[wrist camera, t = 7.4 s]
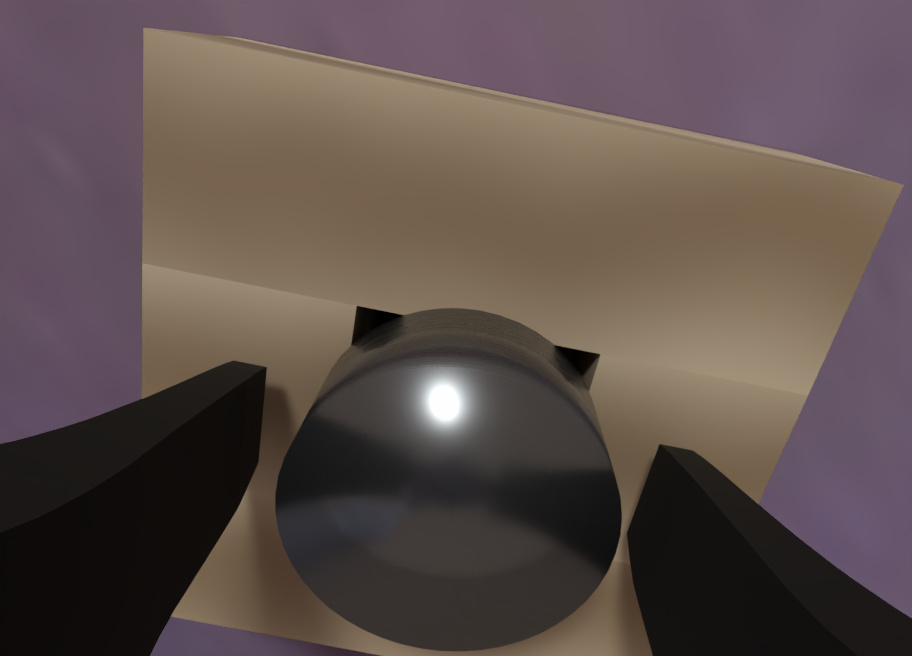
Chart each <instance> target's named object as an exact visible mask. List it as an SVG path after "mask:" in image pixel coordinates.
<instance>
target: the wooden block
mask: <svg viewBox="0 0 912 656" xmlns="http://www.w3.org/2000/svg"><path fill="white" fill-rule="evenodd" d="M903 186H904V185H902V184H899V183H895V182H892V181H888V180H885V179H882V178H878V177H875V176H871V175H868V174H865V173H861V172H858V171H854V170H851V169H848V168H844V167H841V166H837V165H834V164H831V163H827V162H824V161H820V160H817V159H814V158H810V157H807V156H803V155H800V154H797V153H793V152H788V151H783V150H778V149H774V148H769V147H764V146H759V145H754V144H749V143H745V142H740V141H735V140H730V139H725V138H720V137H716V136H711V135H706V134H701V133H696V132H692V131H687V130H682V129H677V128H672V127H667V126H663V125H658V124H653V123H648V122H643V121H638V120H634V119H629V118H624V117H619V116H614V115H609V114H605V113H600V112H595V111H590V110H585V109H581V108H576V107H571V106H566V105H561V104H556V103H552V102H547V101H542V100H537V99H532V98H527V97H523V96H518V95H513V94H508V93H503V92H499V91H494V90H489V89H484V88H479V87H474V86H470V85H465V84H460V83H455V82H450V81H445V80H441V79H436V78H431V77H426V76H421V75H416V74H412V73H407V72H402V71H397V70H392V69H388V68H383V67H378V66H373V65H368V64H363V63H359V62H354V61H349V60H344V59H339V58H334V57H330V56H325V55H320V54H315V53H310V52H305V51H301V50H296V49H291V48H286V47H281V46H277V45H272V44H267V43H262V42H257V41H252V40H248V39H243V38H237V37H227V36H218V35H208V34H199V33H189V32H179V31H170V30H160V29H151V28H144V60H143V253H142V399H143V398H146V397H148V396H151V395H153V394H155V393H157V392H160V391H162V390H164V389H167V388H169V387H171V386H174V385H176V384H178V383H180V382H183V381H185V380H187V379H190V378H192V377H194V376H196V375H199V374H201V373H203V372H205V371H208V370H210V369H212V368H215V367H217V366H219V365H222V364H224V363H227V362H230V361H233V360H234V361H239V362H244V363H249V364H254V365H259V366H264V367H267V372H266V383H265V395H264V406H263V417H262V429H261V440H260V451H259V462H258V465H257V467H256V469H255V472H254V474H253V476H252V479H251V481H250V483H249V485H248V488H247V490H246V492H245V494H244V496H243V498H242V501H241V503H240V505H239V507H238V509H237V511H236V512H235V514H234V516H233V517H232V519H231V521H230V522H229V524H228V525H227V527H226V529H225V530H224V532H223V534H222V535H221V537H220V538H219V540H218V542H217V543H216V545H215V546H214V548H213V550H212V551H211V553H210V554H209V556H208V558H207V559H206V561H205V562H204V564H203V565H202V567H201V569H200V570H199V572H198V573H197V575H196V577H195V578H194V580H193V581H192V583H191V585H190V586H189V588H188V589H187V591H186V593H185V594H184V596H183V597H182V599H181V600H180V602H179V604H178V605H177V607H176V608H175V610H174V612H173V613H172V615H171V617H176V618H182V619H187V620H193V621H198V622H203V623H209V624H214V625H219V626H225V627H230V628H235V629H241V630H246V631H252V632H257V633H262V634H268V635H273V636H278V637H284V638H289V639H295V640H300V641H305V642H311V643H316V644H321V645H327V646H332V647H338V648H343V649H348V650H354V651H359V652H364V653H370V654H375V655H380V656H653V654H652V651H651V647H650V644H649V640H648V637H647V633H646V630H645V626H644V622H643V619H642V615H641V611H640V608H639V604H638V600H637V597H636V593H635V589H634V585H633V579H632V572H631V565H630V558H629V549H628V540H627V531H628V528H629V526H630V523H631V520H632V518H633V515H634V512H635V509H636V507H637V504H638V501H639V498H640V496H641V493H642V490H643V488H644V485H645V482H646V479H647V477H648V474H649V471H650V469H651V466H652V463H653V460H654V458H655V455H656V452H657V449H658V447H659V444H663V445H668V446H673V447H678V448H683V449H688V450H693V451H694V452H696V453H697V454H699V455H700V456H701V457H703V458H704V459H705V460H707V461H708V462H709V463H711V464H712V465H713V466H714V467H715V468H717V469H718V470H719V471H720V472H721V473H723V474H724V475H725V476H726V477H727V478H728V479H730V480H731V481H732V482H733V483H734V484H735V485H737V486H738V487H739V488H740V489H741V490H742V491H743V492H745V493H746V494H747V495H748V496H749V497H750V498H752V499H753V500H754V501H755V502H756V503H757V504H759V502H760V500H761V497H762V495H763V493H764V491H765V489H766V486H767V484H768V482H769V480H770V478H771V476H772V473H773V471H774V469H775V467H776V465H777V462H778V460H779V458H780V456H781V454H782V451H783V449H784V447H785V445H786V443H787V440H788V438H789V436H790V434H791V432H792V429H793V427H794V425H795V423H796V421H797V418H798V416H799V414H800V412H801V410H802V408H803V405H804V403H805V401H806V399H807V397H808V394H809V392H810V390H811V388H812V386H813V383H814V381H815V379H816V377H817V375H818V372H819V370H820V368H821V366H822V364H823V361H824V359H825V357H826V355H827V353H828V350H829V348H830V346H831V344H832V342H833V339H834V337H835V335H836V333H837V331H838V329H839V326H840V324H841V322H842V320H843V318H844V315H845V313H846V311H847V309H848V307H849V304H850V302H851V300H852V298H853V296H854V293H855V291H856V289H857V287H858V285H859V282H860V280H861V278H862V276H863V274H864V271H865V269H866V267H867V265H868V263H869V260H870V258H871V256H872V254H873V252H874V250H875V247H876V245H877V243H878V241H879V239H880V236H881V234H882V232H883V230H884V228H885V225H886V223H887V221H888V219H889V217H890V214H891V212H892V210H893V208H894V206H895V203H896V201H897V199H898V197H899V195H900V192H901V190H902V188H903ZM439 308H463V309H472V310H480V311H485V312H489V313H493V314H497V315H501V316H503V317H506V318H509V319H511V320H514V321H517V322H519V323H521V324H523V325H525V326H527V327H529V328H530V329H532V330H534V331H536V332H538V333H539V334H540V335H542V336H543V337H545V338H546V339H547V340H549V341H550V342H552V343H553V344H554V345H557V348H558V349H559V350H560V351H561V352H562V353H563V354H565V355H566V357H567V358H568V359H569V360H570V361H571V363H572V364H573V365H574V366H575V368H576V369H577V370H578V372H579V374H580V375H581V377H582V379H583V380H584V382H585V384H586V385H587V388H588V390H589V393H590V395H591V397H592V400H593V403H594V406H595V410H596V413H597V416H598V420H599V423H600V427H601V430H602V433H603V437H604V440H605V443H606V447H607V450H608V454H609V457H610V460H611V464H612V467H613V470H614V474H615V477H616V481H617V485H618V489H619V493H620V497H621V510H622V523H621V535H620V539H619V543H618V547H617V551H616V554H615V557H614V559H613V561H612V564H611V566H610V568H609V571H608V572H607V574H606V575H605V577H604V579H603V580H602V582H601V584H600V585H599V587H598V588H597V589H596V590H595V591H594V593H593V594H592V595H591V596H590V597H589V599H588V600H587V601H586V602H585V603H584V604H582V605H581V606H580V607H579V608H578V609H577V610H576V611H575V612H574V613H573V614H571V615H570V616H568V617H567V618H565V619H564V620H563V621H561V622H560V623H558V624H557V625H555V626H553V627H551V628H549V629H548V630H546V631H544V632H542V633H540V634H538V635H535V636H533V637H530V638H528V639H525V640H523V641H520V642H516V643H513V644H509V645H506V646H502V647H497V648H491V649H485V650H476V651H462V652H461V651H437V650H429V649H421V648H416V647H412V646H407V645H403V644H399V643H396V642H393V641H390V640H387V639H384V638H381V637H378V636H376V635H374V634H372V633H369V632H367V631H365V630H363V629H361V628H359V627H357V626H356V625H354V624H352V623H350V622H349V621H347V620H345V619H344V618H342V617H341V616H340V615H338V614H337V613H335V612H334V611H333V610H331V609H330V608H329V607H328V606H327V605H325V604H324V603H323V602H322V601H321V600H320V599H319V598H318V597H317V596H316V595H315V594H314V593H313V592H312V591H311V590H310V589H309V587H308V586H307V585H306V584H305V583H304V582H303V581H302V579H301V578H300V576H299V575H298V573H297V572H296V570H295V569H294V567H293V566H292V564H291V562H290V560H289V558H288V555H287V553H286V551H285V549H284V547H283V544H282V541H281V537H280V534H279V531H278V526H277V519H276V513H275V493H276V487H277V480H278V475H279V472H280V469H281V466H282V463H283V460H284V457H285V455H286V453H287V451H288V449H289V447H290V445H291V443H292V442H293V440H294V438H295V436H296V434H297V432H298V430H299V428H300V426H301V425H302V423H303V421H304V419H305V417H306V415H307V413H308V411H309V410H310V408H311V406H312V404H313V402H314V400H315V398H316V396H317V395H318V393H319V391H320V389H321V387H322V385H323V383H324V381H325V380H326V378H327V376H328V374H329V372H330V370H331V369H332V367H333V366H334V365H335V363H336V362H337V360H338V359H339V358H340V356H341V355H342V354H343V353H344V352H345V351H346V350H347V349H348V348H349V347H350V346H351V345H352V344H353V343H354V342H356V341H357V340H358V339H360V338H361V337H362V336H363V335H365V334H366V333H367V332H369V331H371V330H373V329H374V328H376V327H378V321H379V314H380V310H381V311H386V312H391V313H396V314H401V315H407V314H411V313H415V312H418V311H424V310H432V309H439Z"/></svg>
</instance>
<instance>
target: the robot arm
mask: <svg viewBox="0 0 912 656" xmlns="http://www.w3.org/2000/svg"><path fill="white" fill-rule="evenodd" d="M266 372H267V367H264V366H259V365H254V364H249V363H244V362H239V361H234V360H233V361H230V362H227V363H224V364H222V365H219V366H217V367H215V368H212V369H210V370H208V371H205V372H203V373H201V374H199V375H196V376H194V377H192V378H190V379H187V380H185V381H183V382H180V383H178V384H176V385H174V386H171V387H169V388H167V389H164V390H162V391H160V392H157V393H155V394H153V395H151V396H148V397H146V398H143V399H141V400H138V401H135V402H133V403H130V404H127V405H125V406H122V407H120V408H117V409H114V410H112V411H109V412H107V413H104V414H101V415H99V416H96V417H93V418H91V419H88V420H85V421H82V422H79V423H76V424H72V425H69V426H66V427H63V428H60V429H56V430H53V431H49V432H46V433H42V434H39V435H35V436H32V437H28V438H24V439H21V440H17V441H13V442H8V443H4V444H0V656H150V654H151V652H152V650H153V648H154V646H155V644H156V642H157V640H158V638H159V636H160V634H161V633H162V631H163V629H164V627H165V626H166V624H167V622H168V620H169V619H170V617H171V615H172V613H173V612H174V610H175V608H176V607H177V605H178V604H179V602H180V600H181V599H182V597H183V596H184V594H185V593H186V591H187V589H188V588H189V586H190V585H191V583H192V581H193V580H194V578H195V577H196V575H197V573H198V572H199V570H200V569H201V567H202V565H203V564H204V562H205V561H206V559H207V558H208V556H209V554H210V553H211V551H212V550H213V548H214V546H215V545H216V543H217V542H218V540H219V538H220V537H221V535H222V534H223V532H224V530H225V529H226V527H227V525H228V524H229V522H230V521H231V519H232V517H233V516H234V514H235V512H236V511H237V509H238V507H239V505H240V503H241V501H242V498H243V496H244V494H245V492H246V490H247V488H248V485H249V483H250V481H251V479H252V476H253V474H254V472H255V469H256V467H257V465H258V462H259V451H260V440H261V429H262V417H263V406H264V395H265V383H266ZM627 540H628V549H629V558H630V565H631V572H632V579H633V585H634V589H635V593H636V597H637V600H638V604H639V608H640V611H641V615H642V619H643V622H644V626H645V630H646V633H647V637H648V640H649V644H650V647H651V651H652V654H653V656H912V618H910V617H908V616H907V615H905V614H904V613H902V612H901V611H899V610H897V609H896V608H894V607H893V606H891V605H890V604H888V603H887V602H885V601H884V600H883V599H881V598H880V597H878V596H877V595H875V594H874V593H872V592H871V591H869V590H868V589H866V588H865V587H863V586H862V585H861V584H859V583H858V582H856V581H855V580H853V579H852V578H850V577H849V576H848V575H846V574H845V573H844V572H842V571H841V570H839V569H838V568H837V567H835V566H834V565H833V564H831V563H830V562H829V561H827V560H826V559H825V558H824V557H822V556H821V555H820V554H818V553H817V552H816V551H815V550H813V549H812V548H811V547H809V546H808V545H807V544H806V543H804V542H803V541H802V540H800V539H799V538H798V537H797V536H796V535H794V534H793V533H792V532H791V531H789V530H788V529H787V528H786V527H785V526H783V525H782V524H781V523H780V522H779V521H777V520H776V519H775V518H774V517H773V516H771V515H770V514H769V513H768V512H767V511H766V510H764V509H763V508H762V507H761V506H760V505H759V504H757V503H756V502H755V501H754V500H753V499H752V498H750V497H749V496H748V495H747V494H746V493H745V492H743V491H742V490H741V489H740V488H739V487H738V486H737V485H735V484H734V483H733V482H732V481H731V480H730V479H728V478H727V477H726V476H725V475H724V474H723V473H721V472H720V471H719V470H718V469H717V468H715V467H714V466H713V465H712V464H711V463H709V462H708V461H707V460H705V459H704V458H703V457H701V456H700V455H699V454H697V453H696V452H694V451H693V450H688V449H683V448H678V447H673V446H668V445H663V444H659V447H658V449H657V452H656V455H655V458H654V460H653V463H652V466H651V469H650V471H649V474H648V477H647V479H646V482H645V485H644V488H643V490H642V493H641V496H640V498H639V501H638V504H637V507H636V509H635V512H634V515H633V518H632V520H631V523H630V526H629V528H628V531H627Z"/></svg>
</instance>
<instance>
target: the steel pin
mask: <svg viewBox="0 0 912 656" xmlns="http://www.w3.org/2000/svg"><path fill="white" fill-rule="evenodd" d="M275 513H276V519H277V526H278V531H279V534H280V537H281V541H282V544H283V547H284V549H285V551H286V553H287V555H288V558H289V560H290V562H291V564H292V566H293V567H294V569H295V570H296V572H297V573H298V575H299V576H300V578H301V579H302V581H303V582H304V583H305V584H306V585H307V586H308V587H309V589H310V590H311V591H312V592H313V593H314V594H315V595H316V596H317V597H318V598H319V599H320V600H321V601H322V602H323V603H324V604H325V605H327V606H328V607H329V608H330V609H331V610H333V611H334V612H335V613H337V614H338V615H340V616H341V617H342V618H344V619H345V620H347V621H349V622H350V623H352V624H354V625H356V626H357V627H359V628H361V629H363V630H365V631H367V632H369V633H372V634H374V635H376V636H378V637H381V638H384V639H387V640H390V641H393V642H396V643H399V644H403V645H407V646H412V647H416V648H421V649H429V650H437V651H461V652H462V651H476V650H485V649H491V648H497V647H502V646H506V645H509V644H513V643H516V642H520V641H523V640H525V639H528V638H530V637H533V636H535V635H538V634H540V633H542V632H544V631H546V630H548V629H549V628H551V627H553V626H555V625H557V624H558V623H560V622H561V621H563V620H564V619H565V618H567V617H568V616H570V615H571V614H573V613H574V612H575V611H576V610H577V609H578V608H579V607H580V606H581V605H582V604H584V603H585V602H586V601H587V600H588V599H589V597H590V596H591V595H592V594H593V593H594V591H595V590H596V589H597V588H598V587H599V585H600V584H601V582H602V580H603V579H604V577H605V575H606V574H607V572H608V571H609V568H610V566H611V564H612V561H613V559H614V557H615V554H616V551H617V547H618V543H619V539H620V535H621V523H622V510H621V497H620V493H619V489H618V485H617V481H616V477H615V474H614V470H613V467H612V464H611V460H610V457H609V454H608V450H607V447H606V443H605V440H604V437H603V433H602V430H601V427H600V423H599V420H598V416H597V413H596V410H595V406H594V403H593V400H592V397H591V395H590V393H589V390H588V388H587V385H586V384H585V382H584V380H583V379H582V377H581V375H580V374H579V372H578V370H577V369H576V368H575V366H574V365H573V364H572V363H571V361H570V360H569V359H568V358H567V357H566V355H565V354H563V353H562V352H561V351H560V350H559V349H558V348H557V347H556V346H555V345H554V344H553V343H552V342H550V341H549V340H547V339H546V338H545V337H543V336H542V335H540V334H539V333H538V332H536V331H534V330H532V329H530V328H529V327H527V326H525V325H523V324H521V323H519V322H517V321H514V320H511V319H509V318H506V317H503V316H501V315H497V314H493V313H489V312H485V311H480V310H472V309H463V308H439V309H432V310H424V311H418V312H415V313H411V314H407V315H403V316H400V317H398V318H395V319H393V320H390V321H388V322H385V323H383V324H381V325H380V326H378V327H376V328H374V329H373V330H371V331H369V332H367V333H366V334H365V335H363V336H362V337H361V338H360V339H358V340H357V341H356V342H354V343H353V344H352V345H351V346H350V347H349V348H348V349H347V350H346V351H345V352H344V353H343V354H342V355H341V356H340V358H339V359H338V360H337V362H336V363H335V365H334V366H333V367H332V369H331V370H330V372H329V374H328V376H327V378H326V380H325V381H324V383H323V385H322V387H321V389H320V391H319V393H318V395H317V396H316V398H315V400H314V402H313V404H312V406H311V408H310V410H309V411H308V413H307V415H306V417H305V419H304V421H303V423H302V425H301V426H300V428H299V430H298V432H297V434H296V436H295V438H294V440H293V442H292V443H291V445H290V447H289V449H288V451H287V453H286V455H285V457H284V460H283V463H282V466H281V469H280V472H279V475H278V480H277V487H276V493H275Z"/></svg>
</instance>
